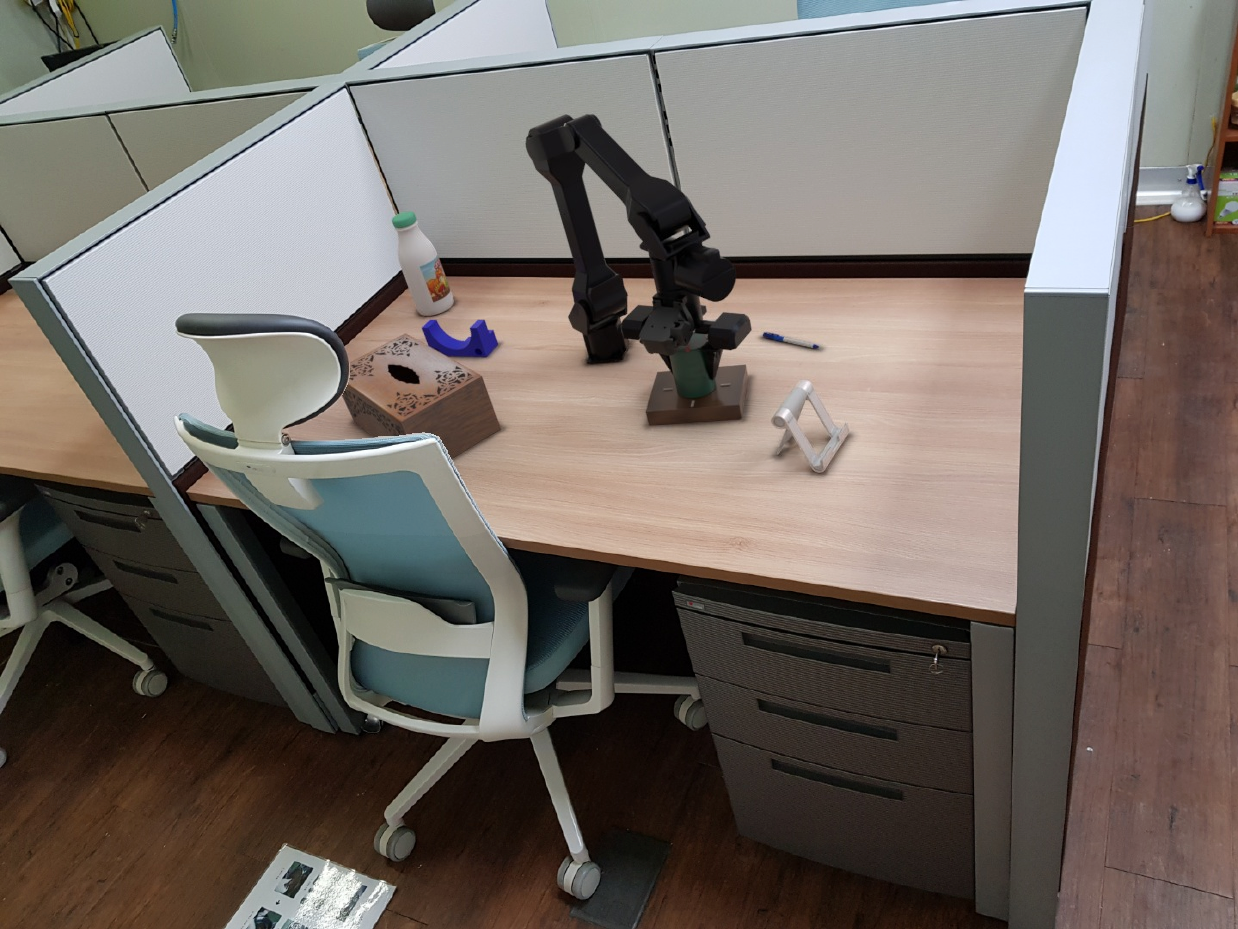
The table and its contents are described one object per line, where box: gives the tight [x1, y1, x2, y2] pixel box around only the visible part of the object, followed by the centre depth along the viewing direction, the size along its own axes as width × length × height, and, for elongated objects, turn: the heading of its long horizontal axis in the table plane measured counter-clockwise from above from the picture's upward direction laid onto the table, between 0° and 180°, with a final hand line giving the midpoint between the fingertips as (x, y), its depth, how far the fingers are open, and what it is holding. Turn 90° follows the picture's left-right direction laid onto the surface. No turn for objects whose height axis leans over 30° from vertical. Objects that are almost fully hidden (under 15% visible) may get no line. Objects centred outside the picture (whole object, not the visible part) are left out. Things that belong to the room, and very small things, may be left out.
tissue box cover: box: [341, 332, 502, 459], centre depth 150 cm, size 26×14×10 cm, turn 39°
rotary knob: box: [669, 333, 716, 398], centre depth 137 cm, size 6×6×8 cm
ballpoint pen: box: [762, 331, 820, 349], centre depth 148 cm, size 10×1×1 cm, turn 49°
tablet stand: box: [770, 379, 850, 474], centre depth 123 cm, size 9×8×8 cm
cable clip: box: [421, 319, 499, 358], centre depth 170 cm, size 12×4×6 cm, turn 68°
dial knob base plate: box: [645, 364, 749, 426], centre depth 140 cm, size 14×11×3 cm
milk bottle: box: [391, 210, 455, 317], centre depth 184 cm, size 8×8×20 cm
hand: (694, 376), depth 138 cm, fingers closed on rotary knob, 6 cm apart
